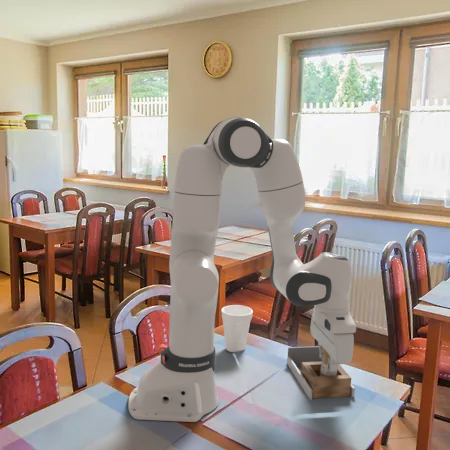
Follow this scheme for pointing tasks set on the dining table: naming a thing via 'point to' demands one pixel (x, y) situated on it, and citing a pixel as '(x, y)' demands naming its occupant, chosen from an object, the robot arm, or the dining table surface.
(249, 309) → the cup
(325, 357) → the sprinkles bottle
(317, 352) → the bay
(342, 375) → the crate
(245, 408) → the dining table surface
